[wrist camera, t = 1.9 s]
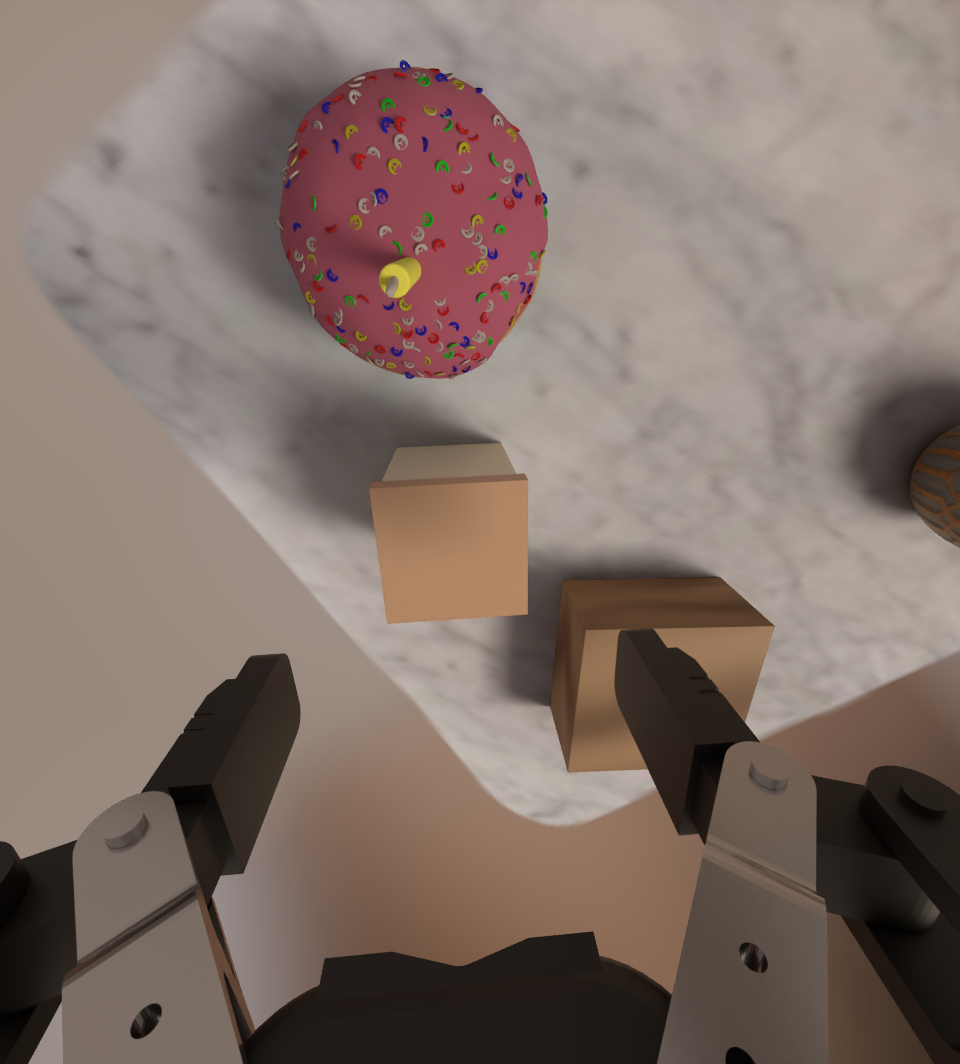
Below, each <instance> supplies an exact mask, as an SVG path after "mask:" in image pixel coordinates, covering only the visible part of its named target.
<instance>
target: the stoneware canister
mask: <svg viewBox="0 0 960 1064" xmlns="http://www.w3.org/2000/svg"><path fill="white" fill-rule="evenodd" d="M369 493H370V500H371V507H372V515H373V522H374V529H375V537H376V544H377V551H378V559H379V566H380V573H381V581H382V588H383V596H384V603H385V610H386V618H387V624H392V623H407V622H422V621H437V620H452V619H467V618H482V617H497V616H512V615H527V614H528V479H527V477H526V475H525V474H516V472H515V470H514V468H513V466H512V464H511V462H510V460H509V458H508V456H507V454H506V452H505V450H504V448H503V445H502V443H501V442H500V443H480V444H461V445H441V446H421V447H401V448H397V449H396V451H395V453H394V455H393V457H392V460H391V462H390V464H389V466H388V468H387V470H386V473H385V475H384V477H383V479H382V481H378V482H372V484H371V486H370V488H369Z"/></svg>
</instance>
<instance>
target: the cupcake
mask: <svg viewBox="0 0 960 1064" xmlns="http://www.w3.org/2000/svg"><path fill="white" fill-rule="evenodd" d="M403 65H405V67H404V68H403ZM406 66H407V67H406ZM453 76H454V74H453V73H449V74H443V73H440V70H439V69H434V68H432V69H426V68H419V67H410V65H409V64H408V63H407V62H406V61H404V60H402V61H401V62H400V68H388V69H380V70H374V71H370V72H366V73H364V74H361V75H359V76H356V77H354V78H352V79H351V80H349V81H347V82H345V83H344V84H342V85H341V86H340V87H338V88H337V89H336V90H334V91H333V92H332V93H331V94H329V95H328V96H327V97H326V98H325V99H323V100H322V101H321V102H320V103H318V104H317V105H316V106H315V107H313V108H312V109H311V110H310V111H309V112H308V113H307V114H306V115H305V116H304V118H303V119H302V121H301V122H300V125H299V127H298V129H297V132H296V135H295V138H294V141H293V144H292V145H290V146H289V147H288V151H290V155H289V159H288V163H287V166H284V167H283V168H282V169H281V177H282V178H283V179H284V184H283V191H282V199H281V208H280V219H279V218H277V219H276V222H277V224H278V226H279V227H280V234H281V240H282V244H283V247H284V250H285V253H286V257H287V259H288V260H289V262H290V264H291V266H292V268H293V271H294V273H295V275H296V278H297V280H298V282H299V285H300V287H301V290H302V292H303V295H304V297H305V300H306V302H307V304H308V306H309V310H310V314H311V315H312V316H313V315H314V317H315V318H316V319H317V321H318V322H319V323H320V325H321V326H322V327H323V328H324V329H325V330H326V331H327V332H328V333H329V334H330V335H331V336H332V337H333V338H334V339H336V340H337V341H338V342H339V343H340V344H341V345H342V346H344V347H345V348H347V349H348V350H349V351H350V352H352V353H353V354H355V355H356V356H358V357H360V358H361V359H363V360H365V361H367V362H369V363H371V364H372V365H375V366H377V367H380V368H382V369H385V370H388V371H391V372H395V373H398V374H402V375H405V376H406V378H408V379H411V378H414V377H425V378H449V379H454V378H457V377H458V375H461V374H463V373H466V372H468V371H471V370H473V369H475V368H477V367H478V366H480V365H481V364H483V363H484V362H485V361H487V360H488V359H489V357H490V356H491V355H492V353H493V352H494V350H495V348H496V347H497V345H498V344H499V343H500V342H501V341H502V340H503V339H504V338H505V337H506V336H507V335H508V333H509V332H510V331H511V330H512V328H513V327H514V326H515V324H516V323H517V321H518V320H519V318H520V317H521V315H522V314H523V313H524V311H525V310H526V308H527V306H528V305H529V303H530V301H531V299H532V297H533V295H534V292H535V290H536V287H537V284H538V279H539V275H540V270H541V261H542V256H543V255H544V253H545V252H546V250H544V249H545V246H546V243H547V239H548V226H547V209H546V207H545V204H546V203H547V196H546V195H545V194H544V193H543V192H542V191H541V187H540V184H539V181H538V177H537V174H536V170H535V166H534V163H533V160H532V157H531V154H530V152H529V149H528V147H527V145H526V144H525V142H524V140H523V139H522V137H521V136H520V135H519V133H518V132H519V131H520V130H519V129H518V128H516V127H515V126H513V125H511V124H510V123H509V121H508V120H507V119H506V118H505V117H504V116H503V115H502V114H501V113H500V111H499V110H498V109H497V108H496V107H495V106H494V105H493V104H492V103H491V102H490V101H489V100H488V99H487V98H486V97H485V96H484V95H483V94H482V93H481V92H482V91H483V89H482V88H473V87H472V86H470V85H469V84H467V83H465V82H463V81H461V80H459V79H456V78H454V77H453ZM517 131H518V132H517ZM285 170H286V172H285ZM284 172H285V176H284ZM543 197H544V198H545V201H544V198H543ZM279 223H280V224H279ZM409 376H410V377H409Z"/></svg>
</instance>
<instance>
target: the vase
mask: <svg viewBox="0 0 960 1064" xmlns="http://www.w3.org/2000/svg"><path fill="white" fill-rule="evenodd" d="M910 494H911V499H912V502H913V505H914V507H915V510H916V512H917V513H918V515H919V516H920V518H921V519H922V520H923V521H924V522H925V524H926V525H927V526H929V527H930V528H931V529H932V530H933V531H934V532H935V533H937V534H938V535H939V536H941V537H942V538H943V539H945V540H946V541H948V542H950V543H952V544H954V545H956V546H957V547H959V548H960V425H957V426H956V427H954V428H952V429H950V430H949V431H947V432H946V433H944V434H943V435H941V436H940V437H938V438H937V439H936V440H934V441H933V442H932V443H931V444H930V445H929V446H928V447H927V448H926V449H925V450H924V451H923V452H922V454H921V455H920V456H919V458H918V460H917V461H916V463H915V465H914V468H913V470H912V474H911V480H910Z"/></svg>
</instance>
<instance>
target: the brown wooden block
mask: <svg viewBox="0 0 960 1064" xmlns="http://www.w3.org/2000/svg"><path fill="white" fill-rule="evenodd" d="M774 627H775V626H774V625H773V624H772V623H771V622H770V621H768V620H767V619H766V618H765V617H764V616H763V615H762V614H761V613H760V612H758V611H757V610H756V609H755V608H754V607H753V606H752V605H751V604H749V603H748V602H747V601H746V600H745V599H744V598H743V597H742V596H741V595H739V594H738V593H737V592H736V591H735V590H734V589H733V588H732V587H731V586H729V585H728V584H727V583H726V582H725V581H724V580H723V579H722V578H656V579H584V580H563V581H562V591H561V601H560V612H559V622H558V632H557V643H556V653H555V663H554V673H553V684H552V694H551V704H550V708H551V711H552V715H553V719H554V723H555V726H556V730H557V734H558V737H559V741H560V745H561V748H562V752H563V756H564V759H565V763H566V767H567V770H568V772H590V771H615V770H639V769H648V768H647V766H646V764H645V762H644V760H643V758H642V755H641V753H640V751H639V749H638V747H637V745H636V743H635V741H634V738H633V736H632V734H631V732H630V730H629V728H628V726H627V723H626V721H625V719H624V717H623V715H622V713H621V711H620V708H619V706H618V703H617V700H616V695H615V688H614V678H615V666H616V654H617V642H618V635H619V632H620V631H621V630H629V629H643V628H653V629H654V630H655V631H656V633H657V634H658V635H659V637H660V638H661V640H662V641H663V642H664V644H665V645H666V646H667V648H672V647H678V648H679V649H681V650H682V651H683V652H685V653H686V654H688V655H689V656H691V657H692V658H694V659H695V660H696V661H697V662H698V663H699V664H700V666H701V667H702V668H703V670H704V671H705V672H706V673H707V675H708V677H709V679H711V680H712V681H713V682H714V684H715V685H716V686H717V688H718V689H719V692H720V693H722V694H723V695H724V696H725V698H726V699H727V700H728V702H729V703H730V704H731V705H732V707H733V708H734V709H735V711H736V712H737V713H738V714H739V716H740V717H741V718H742V720H743V721H744V722H745V720H746V717H747V714H748V711H749V707H750V704H751V701H752V698H753V694H754V691H755V688H756V685H757V682H758V678H759V675H760V672H761V669H762V666H763V662H764V659H765V656H766V653H767V649H768V646H769V643H770V640H771V637H772V633H773V630H774Z"/></svg>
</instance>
